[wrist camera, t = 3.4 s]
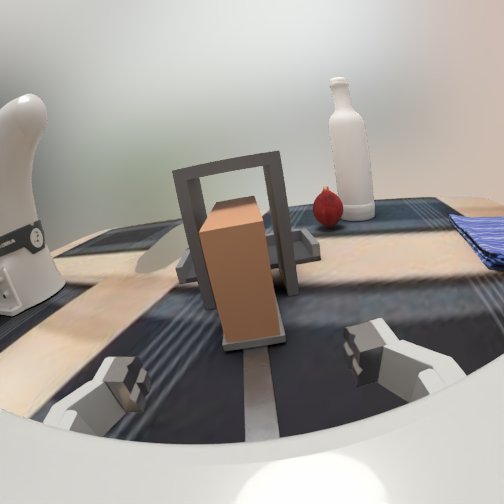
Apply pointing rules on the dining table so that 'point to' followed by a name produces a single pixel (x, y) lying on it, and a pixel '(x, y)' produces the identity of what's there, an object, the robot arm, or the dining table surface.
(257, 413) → the rail
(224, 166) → the tunnel
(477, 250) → the dish towel
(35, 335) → the dining table surface
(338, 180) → the bottle
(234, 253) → the orange rectangular block
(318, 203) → the onion
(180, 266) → the tray
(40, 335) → the dining table surface
